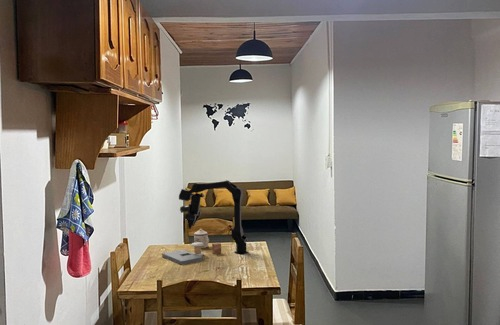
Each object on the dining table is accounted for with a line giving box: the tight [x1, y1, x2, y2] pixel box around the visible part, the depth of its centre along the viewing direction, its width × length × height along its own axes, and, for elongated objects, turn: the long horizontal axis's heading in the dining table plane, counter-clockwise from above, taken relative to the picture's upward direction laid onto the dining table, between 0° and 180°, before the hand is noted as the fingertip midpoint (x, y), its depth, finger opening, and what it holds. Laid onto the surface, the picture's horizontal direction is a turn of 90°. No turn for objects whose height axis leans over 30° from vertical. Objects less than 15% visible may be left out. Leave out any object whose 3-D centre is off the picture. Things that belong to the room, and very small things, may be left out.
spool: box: [191, 242, 205, 257], centre depth 282 cm, size 7×7×7 cm
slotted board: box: [161, 249, 204, 266], centre depth 275 cm, size 24×14×2 cm, turn 37°
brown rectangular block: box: [211, 242, 222, 255], centre depth 285 cm, size 3×4×6 cm, turn 127°
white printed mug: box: [193, 228, 210, 249], centre depth 302 cm, size 12×9×12 cm
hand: (191, 227), depth 291 cm, fingers open, 9 cm apart
